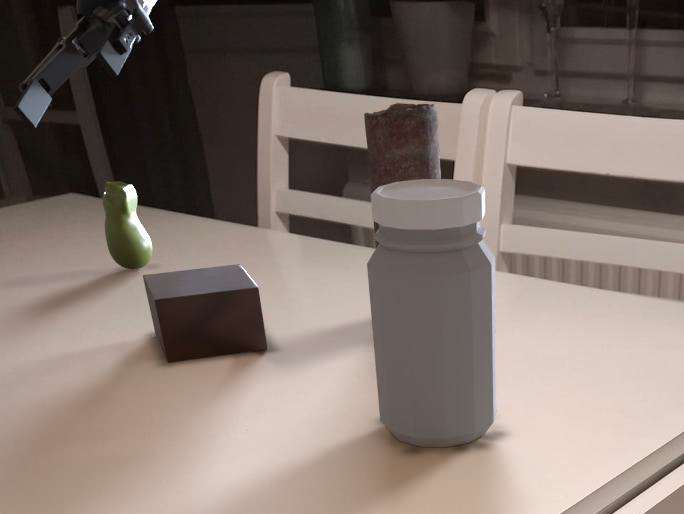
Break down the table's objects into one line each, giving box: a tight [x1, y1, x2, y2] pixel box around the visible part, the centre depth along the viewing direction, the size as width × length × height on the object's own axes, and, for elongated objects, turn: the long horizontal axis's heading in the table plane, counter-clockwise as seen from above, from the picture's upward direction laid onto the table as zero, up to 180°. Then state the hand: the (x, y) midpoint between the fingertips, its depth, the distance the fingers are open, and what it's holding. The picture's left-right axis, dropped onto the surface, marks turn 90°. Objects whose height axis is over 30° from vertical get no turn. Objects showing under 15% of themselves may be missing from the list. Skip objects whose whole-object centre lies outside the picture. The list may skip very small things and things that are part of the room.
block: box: [142, 263, 268, 364], centre depth 102 cm, size 10×10×6 cm
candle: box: [363, 102, 442, 249], centre depth 103 cm, size 8×7×20 cm
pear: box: [102, 180, 153, 270], centre depth 126 cm, size 6×5×10 cm
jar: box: [366, 178, 498, 448], centre depth 79 cm, size 10×10×18 cm
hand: (64, 92), depth 117 cm, fingers open, 13 cm apart
